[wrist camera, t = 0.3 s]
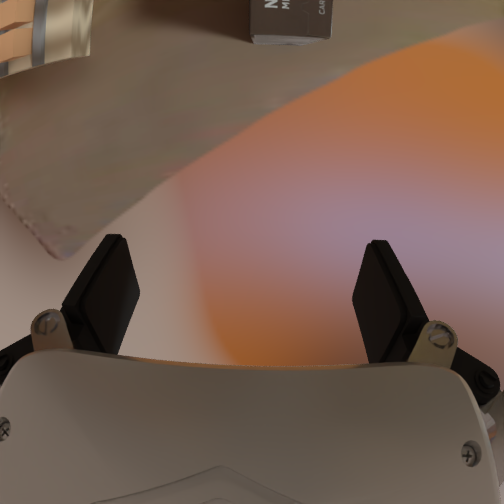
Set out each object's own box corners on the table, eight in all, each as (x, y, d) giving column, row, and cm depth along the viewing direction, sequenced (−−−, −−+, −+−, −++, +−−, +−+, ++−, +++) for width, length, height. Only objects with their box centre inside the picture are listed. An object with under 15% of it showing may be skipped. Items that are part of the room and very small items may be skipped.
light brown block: (16, 5, 19) (-3, 5, 16) (35, -4, 20) (17, -5, 16) (13, 29, 22) (-5, 31, 18) (33, 21, 22) (14, 22, 19)
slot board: (11, -17, 19) (-12, -18, 14) (101, -52, 20) (81, -62, 15) (5, 77, 30) (-19, 84, 25) (89, 55, 30) (66, 58, 25)
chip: (13, 35, 22) (-5, 37, 19) (32, 27, 22) (14, 29, 19) (12, 60, 25) (-6, 64, 21) (31, 54, 25) (12, 57, 22)
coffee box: (252, -18, 25) (248, -64, 12) (305, -16, 25) (334, -58, 12) (252, 45, 31) (247, 34, 18) (304, 47, 31) (334, 40, 18)
